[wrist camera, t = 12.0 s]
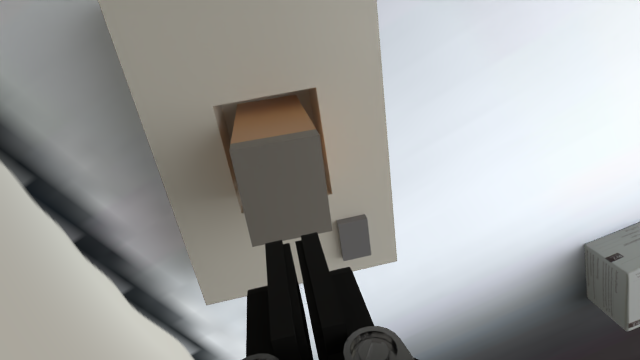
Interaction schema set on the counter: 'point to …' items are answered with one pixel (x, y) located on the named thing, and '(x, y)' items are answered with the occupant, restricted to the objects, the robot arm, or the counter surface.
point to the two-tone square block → (279, 170)
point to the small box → (615, 275)
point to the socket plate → (253, 85)
